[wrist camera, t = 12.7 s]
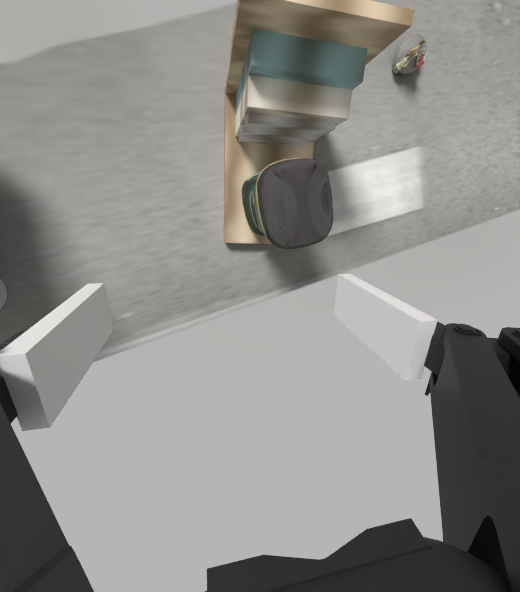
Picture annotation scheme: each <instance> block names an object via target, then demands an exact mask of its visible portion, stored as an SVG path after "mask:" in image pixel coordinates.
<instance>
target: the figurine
mask: <svg viewBox="0 0 520 592" xmlns="http://www.w3.org/2000/svg"><path fill="white" fill-rule="evenodd" d="M425 52H426V41H425V39H424V37H423V36H422V35H420V34H413V35H411V36H409V37H408V38H407V39H406V40H405V41H404V42H403V43H402V44H401V45H400V46H399V48H398V49H397V51H396V53H395V57H394V62H393V67H392V69H393V72H394V73H395V74H397V73H398V72H399V73H402V74H409V73H412V72H414V71H415V70H416V69H417V68H419V67H420V66H422V65H423V64H424V60H425ZM423 58H424V59H423ZM425 61H427V60H425Z"/></svg>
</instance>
